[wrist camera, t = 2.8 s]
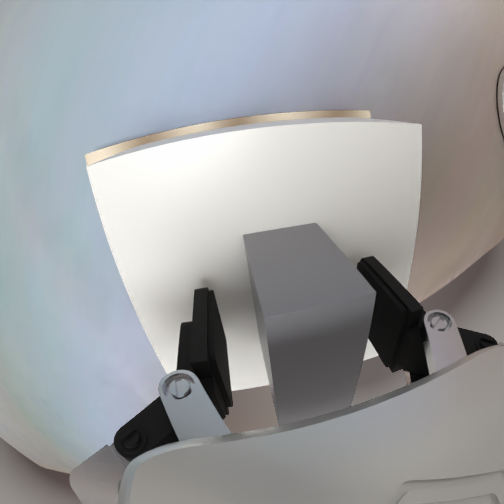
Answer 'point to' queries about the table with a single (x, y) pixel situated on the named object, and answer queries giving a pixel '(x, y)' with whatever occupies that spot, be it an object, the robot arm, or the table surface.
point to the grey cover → (267, 244)
